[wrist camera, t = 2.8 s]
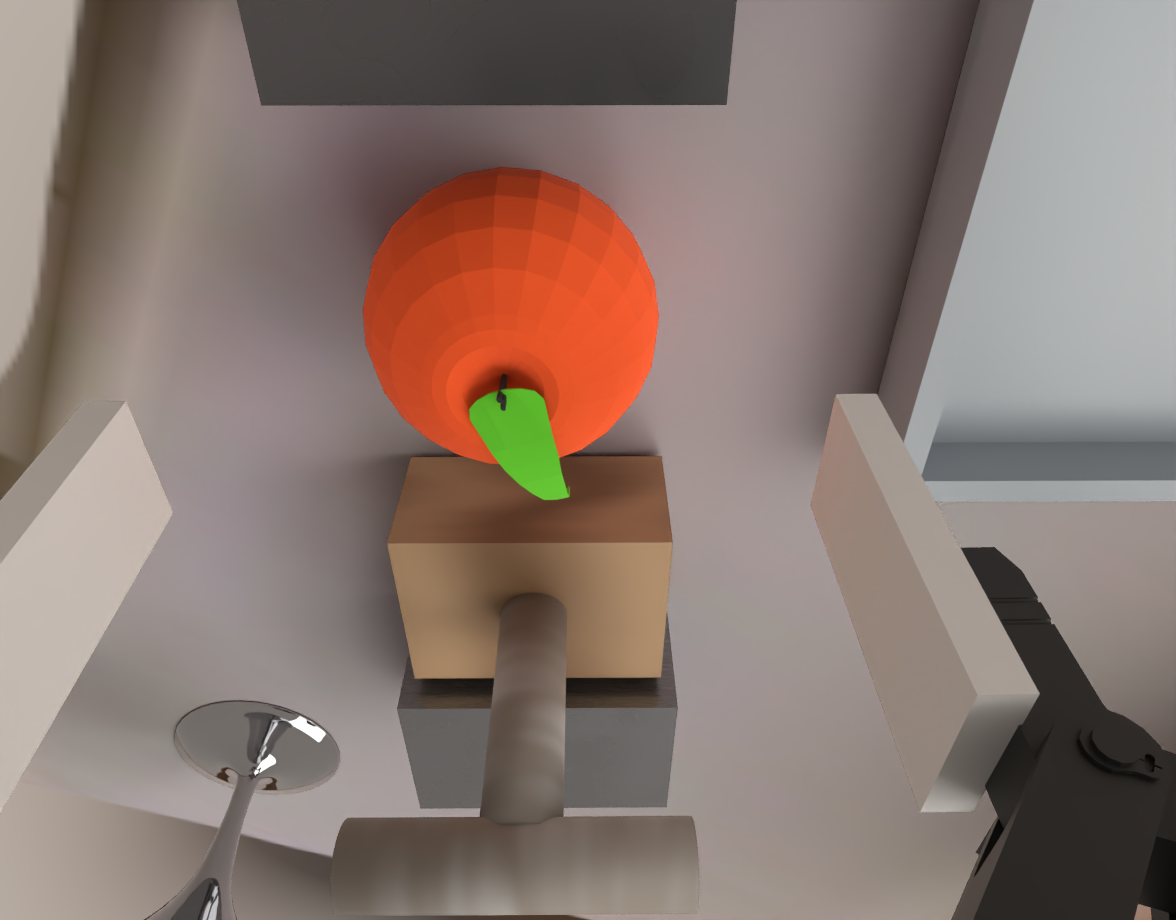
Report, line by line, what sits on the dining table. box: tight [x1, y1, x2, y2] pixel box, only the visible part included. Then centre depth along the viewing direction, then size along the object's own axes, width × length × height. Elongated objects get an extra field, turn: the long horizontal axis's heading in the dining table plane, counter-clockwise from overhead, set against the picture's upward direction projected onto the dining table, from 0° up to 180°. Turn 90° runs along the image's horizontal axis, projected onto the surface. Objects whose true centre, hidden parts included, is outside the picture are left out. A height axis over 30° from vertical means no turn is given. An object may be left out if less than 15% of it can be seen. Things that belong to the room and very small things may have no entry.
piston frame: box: [237, 0, 737, 808], centre depth 23 cm, size 9×28×6 cm, turn 0°
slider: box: [330, 456, 700, 916], centre depth 23 cm, size 8×6×12 cm
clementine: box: [363, 167, 659, 500], centre depth 20 cm, size 8×7×7 cm
